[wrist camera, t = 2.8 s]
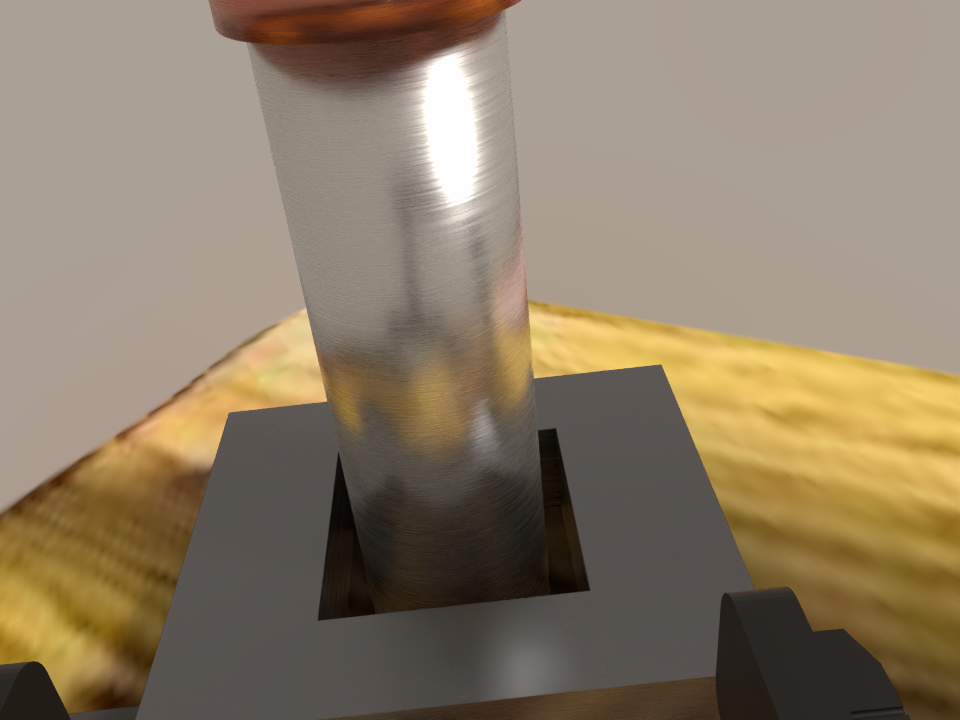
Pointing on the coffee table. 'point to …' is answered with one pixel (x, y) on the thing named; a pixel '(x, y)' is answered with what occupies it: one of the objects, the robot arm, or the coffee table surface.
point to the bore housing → (463, 628)
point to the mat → (107, 714)
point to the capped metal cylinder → (411, 279)
